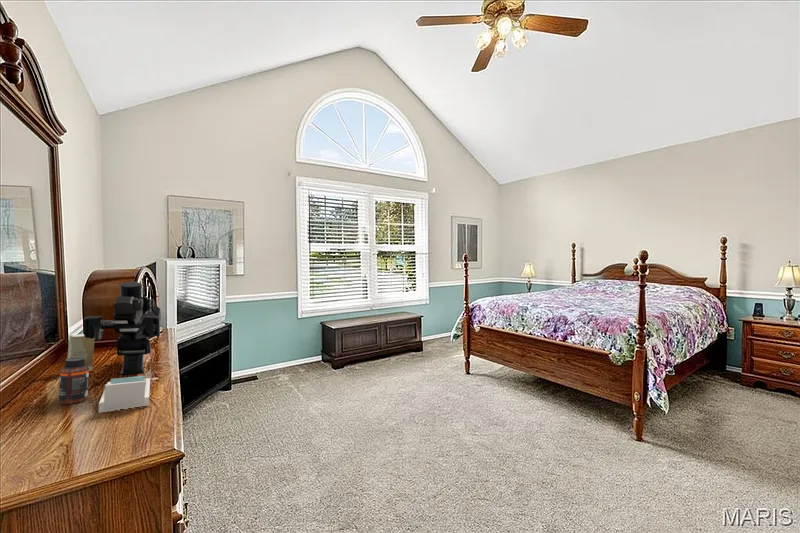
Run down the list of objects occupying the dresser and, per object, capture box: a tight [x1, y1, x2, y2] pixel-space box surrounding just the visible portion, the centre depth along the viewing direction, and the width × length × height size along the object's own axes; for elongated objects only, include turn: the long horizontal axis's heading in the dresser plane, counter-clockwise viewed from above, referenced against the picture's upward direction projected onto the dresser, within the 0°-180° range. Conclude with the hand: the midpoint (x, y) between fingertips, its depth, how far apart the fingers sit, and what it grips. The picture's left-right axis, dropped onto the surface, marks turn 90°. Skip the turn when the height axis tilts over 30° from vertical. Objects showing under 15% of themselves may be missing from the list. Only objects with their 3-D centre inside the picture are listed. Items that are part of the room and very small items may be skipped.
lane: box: [98, 377, 151, 414], centre depth 105 cm, size 20×10×7 cm, turn 32°
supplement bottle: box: [58, 357, 90, 405], centre depth 102 cm, size 6×6×11 cm
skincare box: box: [66, 333, 96, 372], centre depth 129 cm, size 6×4×12 cm
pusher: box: [110, 375, 145, 384], centre depth 105 cm, size 3×8×4 cm, turn 123°
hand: (116, 338), depth 108 cm, fingers open, 9 cm apart
